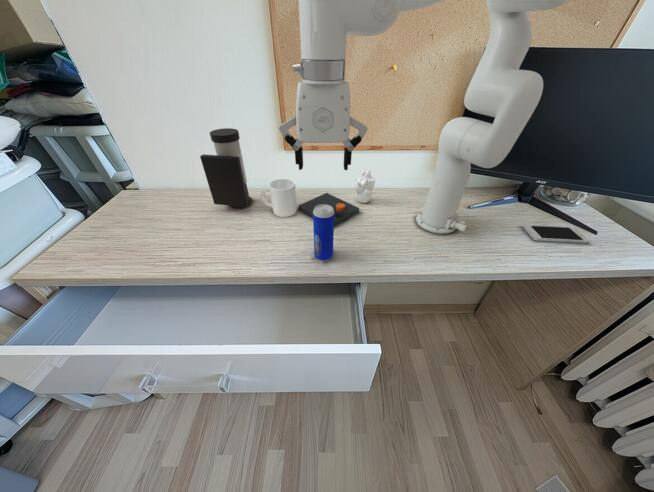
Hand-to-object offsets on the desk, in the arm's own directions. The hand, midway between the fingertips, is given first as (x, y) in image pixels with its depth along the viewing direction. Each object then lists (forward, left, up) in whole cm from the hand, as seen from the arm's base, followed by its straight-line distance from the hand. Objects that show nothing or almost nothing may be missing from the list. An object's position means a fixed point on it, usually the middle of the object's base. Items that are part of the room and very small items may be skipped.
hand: (323, 167), depth 55 cm
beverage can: (0, 0, -25) cm, 25 cm away
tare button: (+10, -18, -22) cm, 30 cm away
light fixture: (+42, +2, -25) cm, 49 cm away
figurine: (+12, -32, -25) cm, 43 cm away
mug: (+28, -6, -25) cm, 38 cm away
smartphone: (-43, -58, -25) cm, 77 cm away
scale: (+16, -18, -25) cm, 35 cm away
